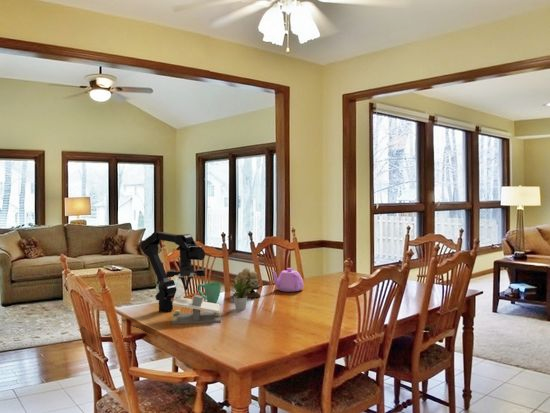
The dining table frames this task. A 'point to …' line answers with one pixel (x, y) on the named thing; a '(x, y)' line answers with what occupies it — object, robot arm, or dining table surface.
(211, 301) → the mug
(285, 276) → the teapot
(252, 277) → the bushy plant
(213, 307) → the deck
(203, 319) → the stand
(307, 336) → the dining table surface
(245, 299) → the house plant
